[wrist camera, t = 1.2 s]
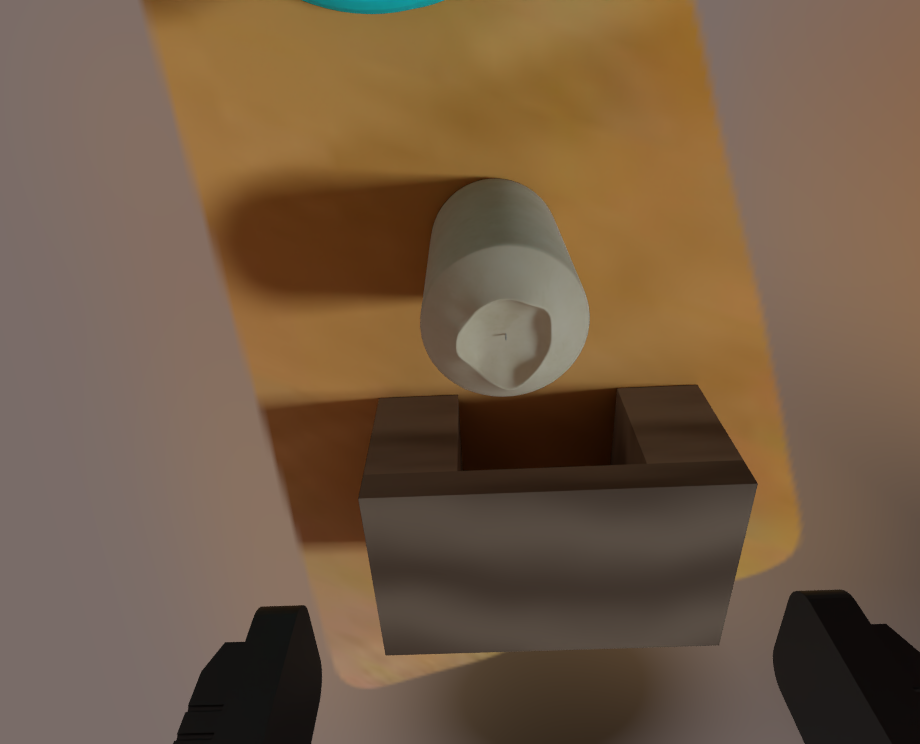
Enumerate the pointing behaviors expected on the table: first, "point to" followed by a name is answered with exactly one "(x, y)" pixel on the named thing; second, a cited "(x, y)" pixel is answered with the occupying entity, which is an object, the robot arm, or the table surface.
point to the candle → (501, 292)
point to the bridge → (555, 533)
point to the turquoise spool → (372, 5)
